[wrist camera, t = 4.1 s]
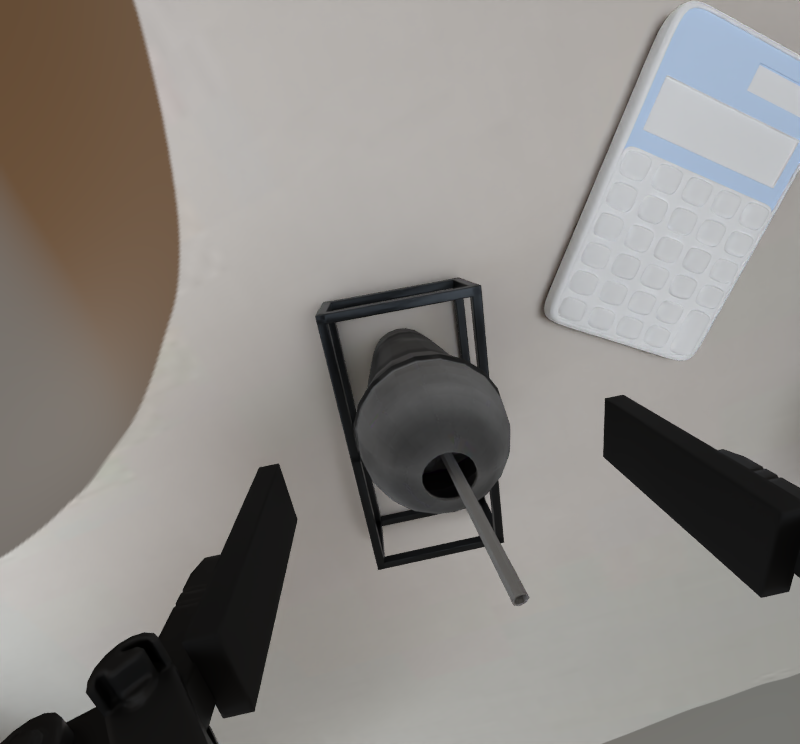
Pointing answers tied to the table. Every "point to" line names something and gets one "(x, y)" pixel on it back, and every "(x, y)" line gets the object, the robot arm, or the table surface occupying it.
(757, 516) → the robot arm
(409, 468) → the beverage cup
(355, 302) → the rack
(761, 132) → the calculator
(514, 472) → the table surface
